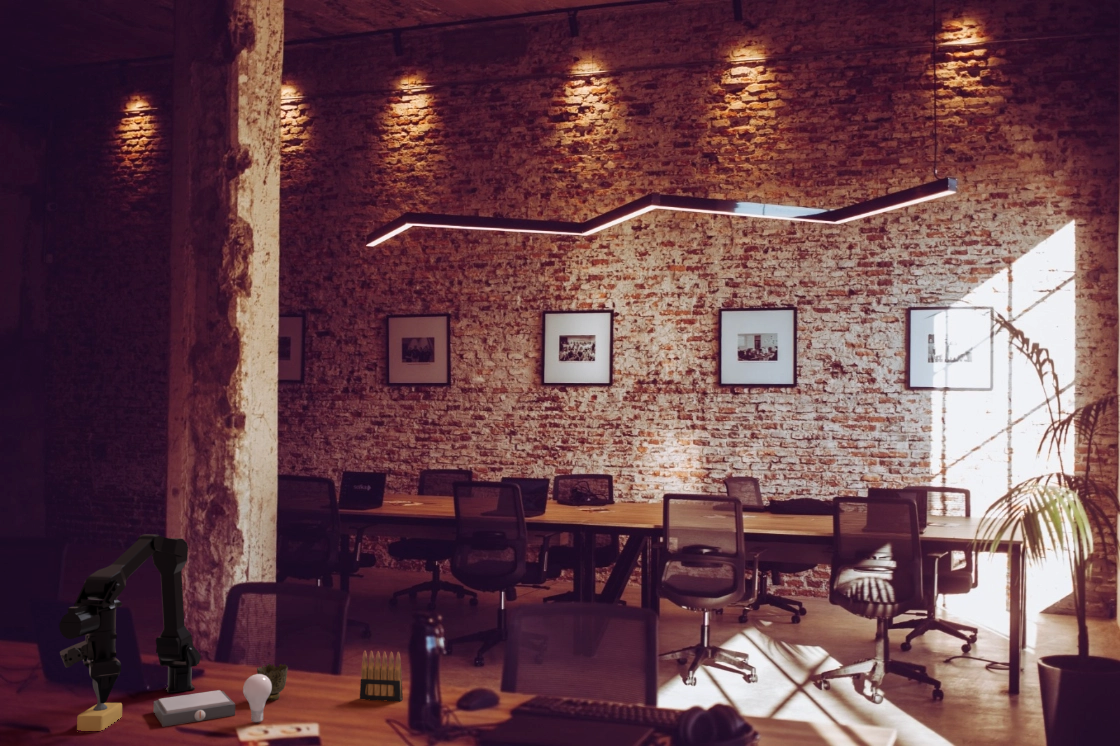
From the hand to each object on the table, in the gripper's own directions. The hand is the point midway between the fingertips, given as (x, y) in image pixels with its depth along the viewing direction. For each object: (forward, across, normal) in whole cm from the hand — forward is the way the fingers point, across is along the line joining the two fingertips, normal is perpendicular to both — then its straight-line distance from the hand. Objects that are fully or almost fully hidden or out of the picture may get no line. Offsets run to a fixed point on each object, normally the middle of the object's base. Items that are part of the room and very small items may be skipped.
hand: (100, 697), depth 219 cm
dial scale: (+6, +3, +20) cm, 21 cm away
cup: (+6, +1, +39) cm, 40 cm away
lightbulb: (+6, +18, +31) cm, 36 cm away
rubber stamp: (+6, 0, 0) cm, 6 cm away
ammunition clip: (+6, +16, +62) cm, 64 cm away
